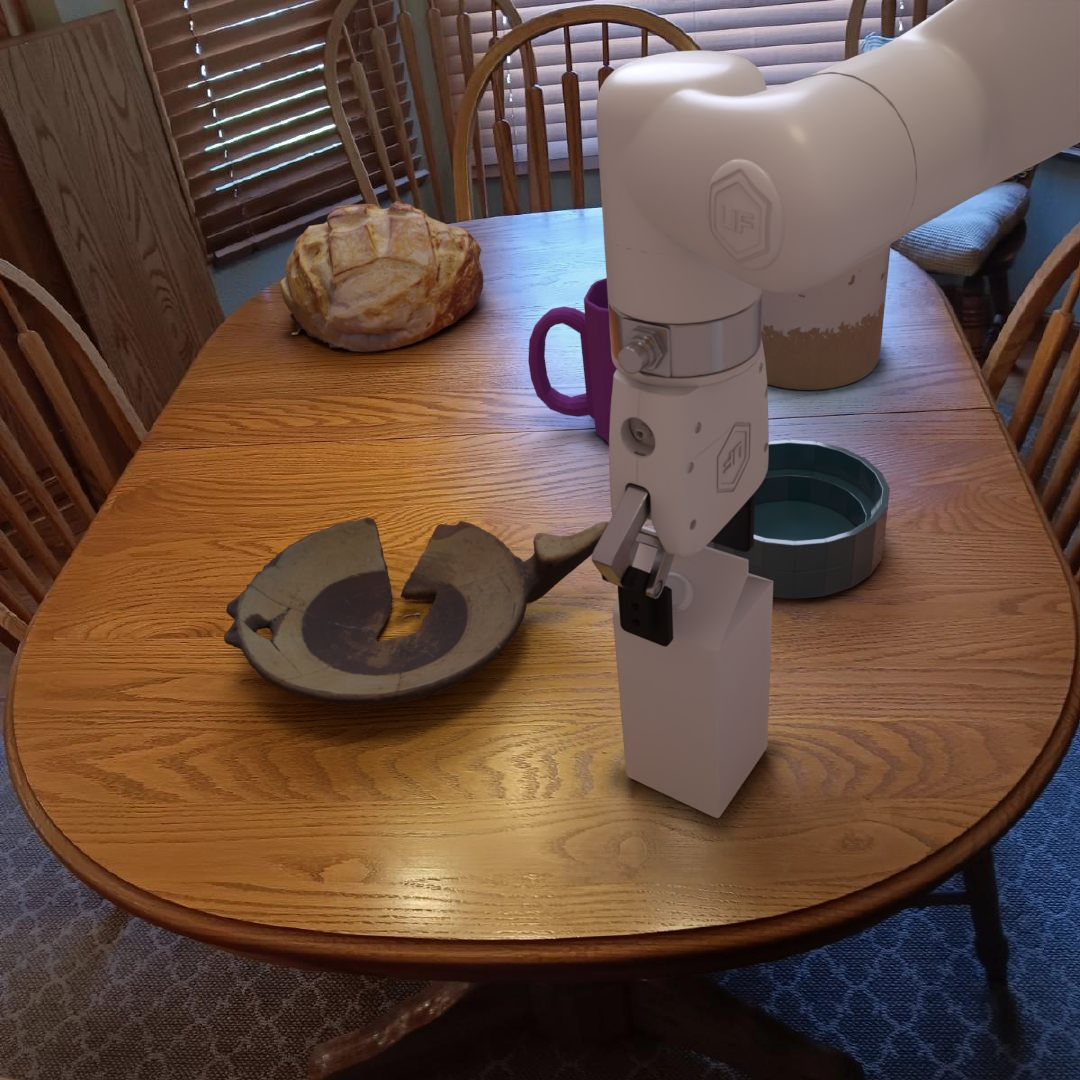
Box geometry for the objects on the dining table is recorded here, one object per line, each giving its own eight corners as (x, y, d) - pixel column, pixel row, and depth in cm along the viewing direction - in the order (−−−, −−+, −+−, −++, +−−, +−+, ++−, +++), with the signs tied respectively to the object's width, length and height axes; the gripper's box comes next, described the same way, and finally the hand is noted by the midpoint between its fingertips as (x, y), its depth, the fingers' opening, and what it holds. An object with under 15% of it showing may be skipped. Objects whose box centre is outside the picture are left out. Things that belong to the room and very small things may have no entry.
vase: (868, 323, 121) (880, 178, 111) (890, 388, 109) (906, 231, 99) (734, 330, 123) (734, 189, 113) (741, 394, 111) (742, 242, 101)
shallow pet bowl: (910, 524, 90) (917, 465, 87) (837, 627, 81) (842, 566, 77) (749, 479, 98) (750, 424, 95) (667, 569, 89) (664, 511, 85)
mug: (675, 453, 103) (670, 312, 94) (525, 446, 107) (506, 310, 98) (689, 406, 110) (685, 271, 101) (547, 401, 114) (532, 271, 105)
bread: (347, 278, 153) (316, 176, 144) (516, 272, 142) (493, 161, 134) (253, 358, 135) (211, 247, 127) (438, 359, 124) (405, 237, 116)
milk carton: (677, 711, 76) (669, 495, 64) (768, 749, 72) (776, 527, 61) (625, 777, 71) (606, 558, 60) (718, 821, 68) (717, 597, 56)
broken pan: (305, 550, 97) (284, 481, 92) (627, 563, 90) (621, 489, 85) (195, 730, 79) (163, 656, 75) (584, 762, 73) (574, 683, 68)
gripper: (660, 424, 45) (670, 702, 55) (828, 272, 56) (810, 529, 66) (522, 386, 49) (555, 653, 59) (703, 251, 59) (704, 497, 70)
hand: (689, 587), depth 63 cm, fingers open, 9 cm apart
